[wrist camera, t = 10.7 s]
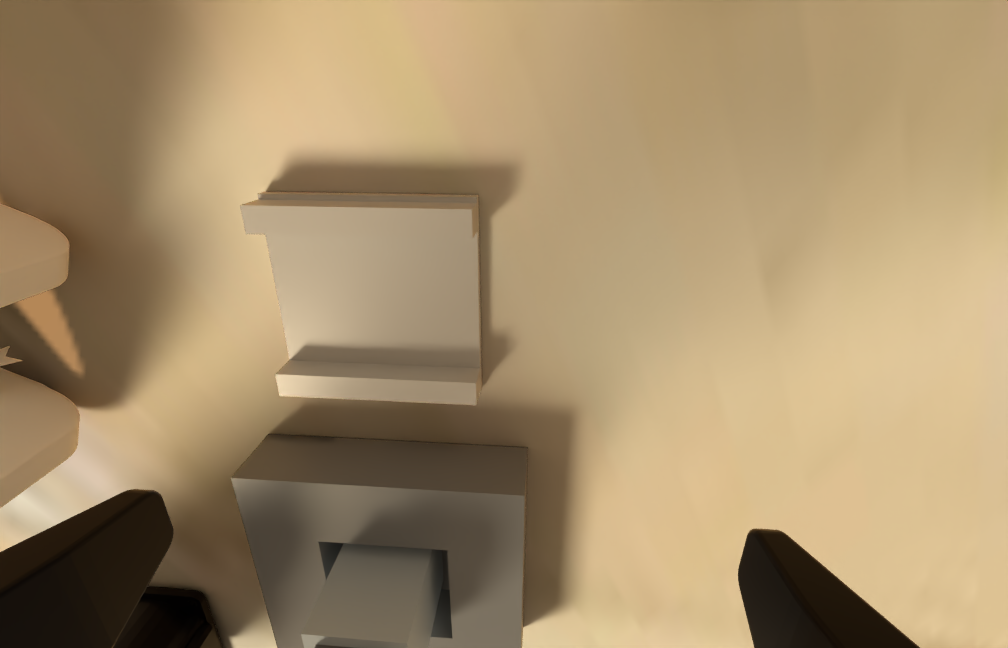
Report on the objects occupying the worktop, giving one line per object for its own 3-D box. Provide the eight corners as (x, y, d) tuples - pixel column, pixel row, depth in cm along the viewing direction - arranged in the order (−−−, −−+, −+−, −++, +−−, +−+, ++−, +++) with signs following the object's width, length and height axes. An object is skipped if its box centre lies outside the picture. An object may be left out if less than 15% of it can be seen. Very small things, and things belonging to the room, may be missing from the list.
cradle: (299, 379, 22) (280, 400, 20) (264, 191, 18) (238, 199, 17) (481, 387, 21) (476, 409, 20) (478, 194, 18) (471, 203, 16)
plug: (366, 572, 25) (293, 759, 18) (357, 513, 24) (273, 692, 17) (443, 578, 25) (400, 771, 18) (440, 518, 24) (391, 703, 16)
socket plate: (309, 613, 28) (283, 668, 25) (268, 433, 23) (230, 478, 20) (522, 630, 27) (519, 689, 24) (527, 447, 22) (524, 495, 19)
